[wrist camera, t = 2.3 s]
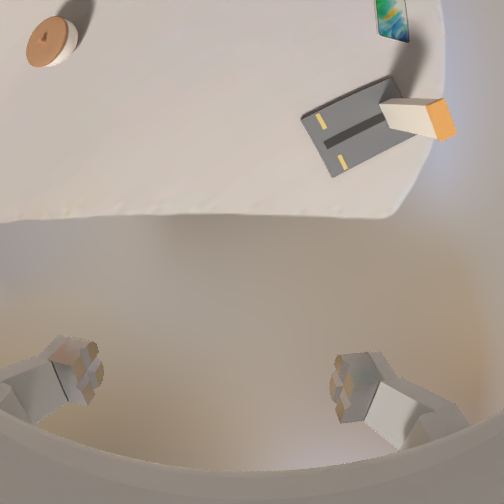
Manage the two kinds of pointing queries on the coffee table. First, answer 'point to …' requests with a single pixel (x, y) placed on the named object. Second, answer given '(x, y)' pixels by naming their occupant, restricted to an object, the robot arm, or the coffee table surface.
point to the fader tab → (419, 117)
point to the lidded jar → (51, 42)
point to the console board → (354, 128)
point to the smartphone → (392, 20)
